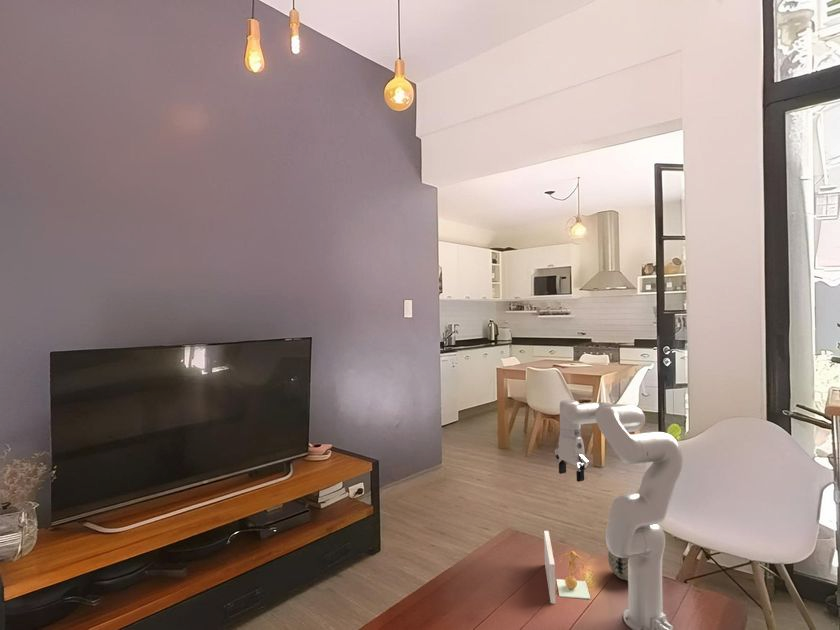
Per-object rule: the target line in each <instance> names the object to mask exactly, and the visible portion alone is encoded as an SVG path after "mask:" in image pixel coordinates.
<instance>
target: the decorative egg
mask: <svg viewBox="0 0 840 630" xmlns="http://www.w3.org/2000/svg"><path fill="white" fill-rule="evenodd" d="M607 556H608V557H607V559H608V564H609V567H610V569H611V571H612V572H613V574H614V575H616V577H617V578H619V579H621V580H622V581H627V582H628V559H629V557H627V558H620V557H617V556H615V555H613V554H612V553H611V552H610V550H609V549H608V553H607Z"/></svg>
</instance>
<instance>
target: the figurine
mask: <svg viewBox="0 0 840 630" xmlns="http://www.w3.org/2000/svg"><path fill="white" fill-rule="evenodd" d="M565 556H568V557H569V560H568V561H567V562H568V563H567V570H568V576H566V578H565V579H564V580H565V584H566V586H567V587H568V588H570V589H574V588H575V587H576V586H577V581H578V580H577V579H576V578H575V572H576V566H577V562H575V560H576V558H577V559H579V560H580V562H581V565H582V569H583V570H584V569H585V565H584V562H583V558H582V557H581V556H580V555H578V553H576V552H575V551H574V550H571V551H570V552H566V553H563V555H562V557H560V560H559V564H561V562H562V560H563V559H564V557H565ZM571 567H572V575H571Z"/></svg>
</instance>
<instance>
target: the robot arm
mask: <svg viewBox="0 0 840 630" xmlns="http://www.w3.org/2000/svg"><path fill="white" fill-rule="evenodd" d="M645 423H646V416H645V413H644V412H643V411H642V409H640V407H638V406H636V405H631V404H625V403H624V404H623V403H622V404H621V403H610V402H603V401H602V402H601V401H598V402H597V401H596V402H593V401H592V402H582V403H581V402H579V401H578V400H575V399H563V400H561V401H560V402H559V437H558V447H557V448H556V449H554V453H555V457H556V460H557V461H556V462H557V463H558V474H560V475H562V474H566V473H567V463H569V464H570V465H574V466H575V468H576V472H575V473H576V481H577V482H578V483H579V482H583V481H585V471H586V470H587V468H588V466H589V463H590V462H589V460H588V459H587V458H586V455H585V454H586V453H585V452H586V451H585V445H584V440H583V437H582V431H581V429H582V428H581V425H586V424H587V425H588V424H597V427H598V429H599V431H600V432H601V434H602V435H603V436H604V438H605V440H606V442H608V443H609V445H610V447H611V448H612V449H613V451H614V452H615V454H616V455H617V457H619V459H620V460H621V461H623V462H624V463H626V464H629V465H639V464H646V463H647V464H649V463H651V465H650V466H649V467H648V468H647V470H646V471H645V472H644V474H643V476H642V478H641V482H640V486H639V488H638V489H637V490H636V491H633V492H628V493H623V494H620V495H618V496H616V498H614V500H613V502H612V503H611V506H610V510H609V515H608V520H607V525H606V529H605V541H606V546H607V548H608V551H609V550H610V552H611V553H612V554H613V555H615V556H617V557H620V558H627V557H629V559H628V581H627V588H628V589H627V590H628V591H627V592H628V593H627V595H628V596H627V597H628V599H627V601H628V608H627V609H625V610H624V611H623V621H624V624H625V625H626V626H627V627H629V628H630V629H631V630H674V626H673V625H672V624H671V623H669V622H668V620H667V615H666V614H665V613H664V611H663V610H664V608H663V605H664V604H663V556H664V551H665V546H666V535H665V532H664V529H663V528H662V526H661V525H660V524H661V523H663V522H664V521H665V519H666V517H667V514H668V512H669V509H670V505H671V502H672V498H673V493H674V490H675V487H676V484H677V482H678V479H679V477H680V475H681V471H682V468H683V462H684V461H683V452H682V448H681V446H680V443H679V442H678V440H677V439H676V438H675V437H674V436H673V434H672V435H671V434H669V433H668V432H663V431H646V432H645V431H644V432H637V431H639V430H641V429H642V428H643V427H644V425H645ZM633 432H637V433H633Z"/></svg>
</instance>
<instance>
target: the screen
mask: <svg viewBox="0 0 840 630" xmlns="http://www.w3.org/2000/svg"><path fill="white" fill-rule="evenodd" d="M543 531H544V532H543V538H544V541H543V543H544V544H543V545H544V566H545V574H546V580H547V581H546V582H547V587H548V588H547V589H548V595H549V601H550V604H553V605H554V604H556V571H555V570H556V565H555V559H554V555H553V554H554V552H553V548H552V542H551V537H550V532H549V530H543Z"/></svg>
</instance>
